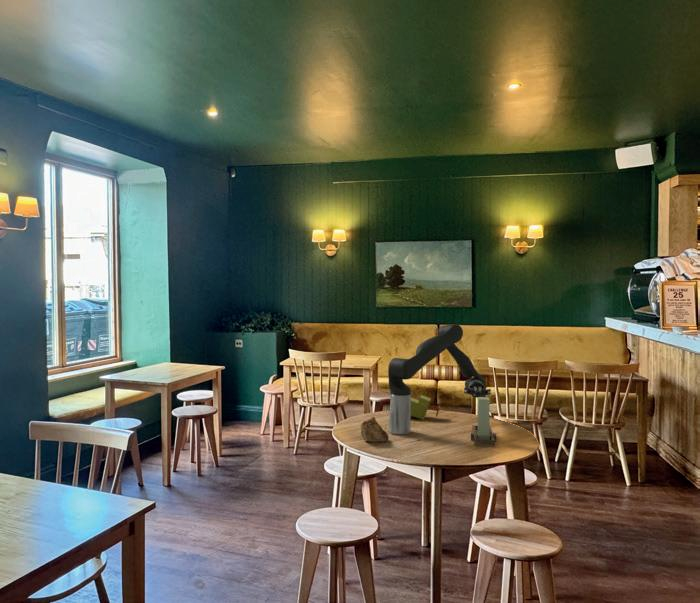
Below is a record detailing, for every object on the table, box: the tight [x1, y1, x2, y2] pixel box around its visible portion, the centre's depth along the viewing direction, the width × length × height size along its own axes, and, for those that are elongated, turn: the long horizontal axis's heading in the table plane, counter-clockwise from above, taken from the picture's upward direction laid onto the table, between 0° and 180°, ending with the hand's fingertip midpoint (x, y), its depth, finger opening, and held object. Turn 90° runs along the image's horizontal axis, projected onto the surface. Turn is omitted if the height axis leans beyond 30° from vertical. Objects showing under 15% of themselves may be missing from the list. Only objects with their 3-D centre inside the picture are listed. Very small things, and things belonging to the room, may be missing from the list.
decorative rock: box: [360, 416, 390, 443], centre depth 213 cm, size 12×6×11 cm, turn 105°
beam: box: [470, 425, 497, 448], centre depth 218 cm, size 24×10×3 cm, turn 169°
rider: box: [477, 396, 491, 440], centre depth 215 cm, size 6×5×17 cm
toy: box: [411, 394, 441, 421], centre depth 256 cm, size 9×12×20 cm
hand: (478, 394), depth 231 cm, fingers closed
